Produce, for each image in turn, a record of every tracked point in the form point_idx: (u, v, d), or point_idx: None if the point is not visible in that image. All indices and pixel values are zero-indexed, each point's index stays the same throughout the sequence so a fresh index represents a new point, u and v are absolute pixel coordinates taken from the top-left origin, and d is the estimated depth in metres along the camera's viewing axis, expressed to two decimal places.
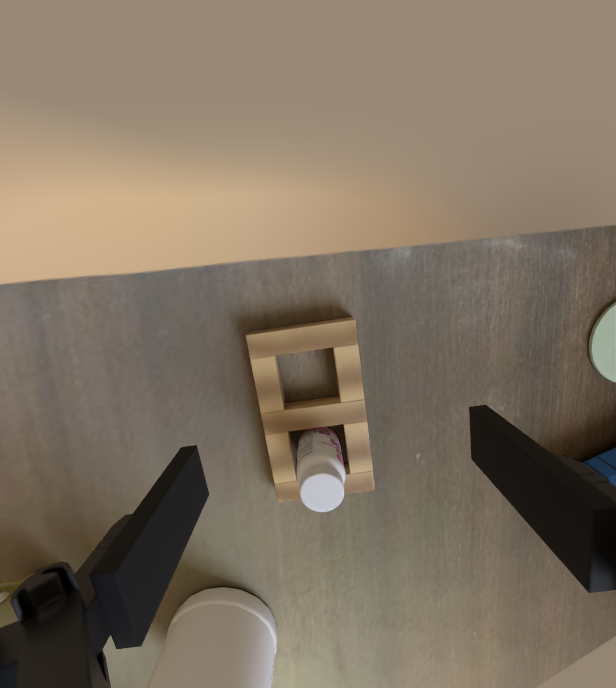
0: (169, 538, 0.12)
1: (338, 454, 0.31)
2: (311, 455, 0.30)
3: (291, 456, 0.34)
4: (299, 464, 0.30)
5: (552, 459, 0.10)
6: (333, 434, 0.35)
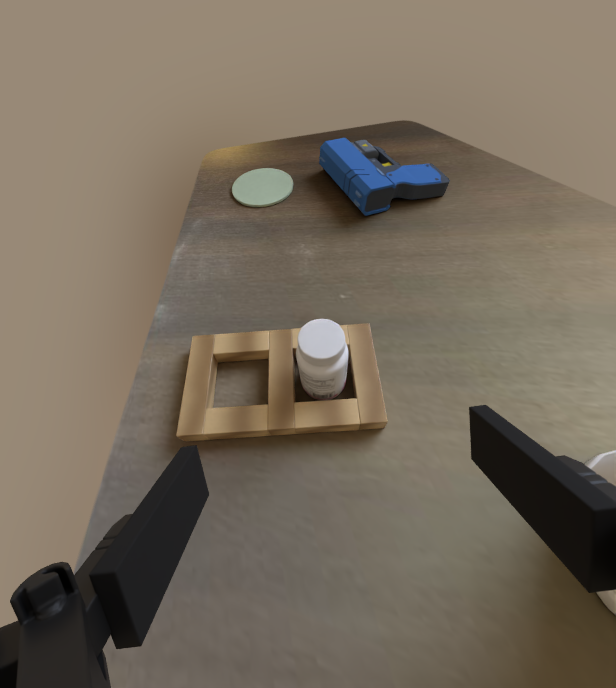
0: (169, 538, 0.12)
1: None
2: (297, 360, 0.28)
3: (325, 401, 0.30)
4: (307, 373, 0.28)
5: (552, 459, 0.10)
6: None
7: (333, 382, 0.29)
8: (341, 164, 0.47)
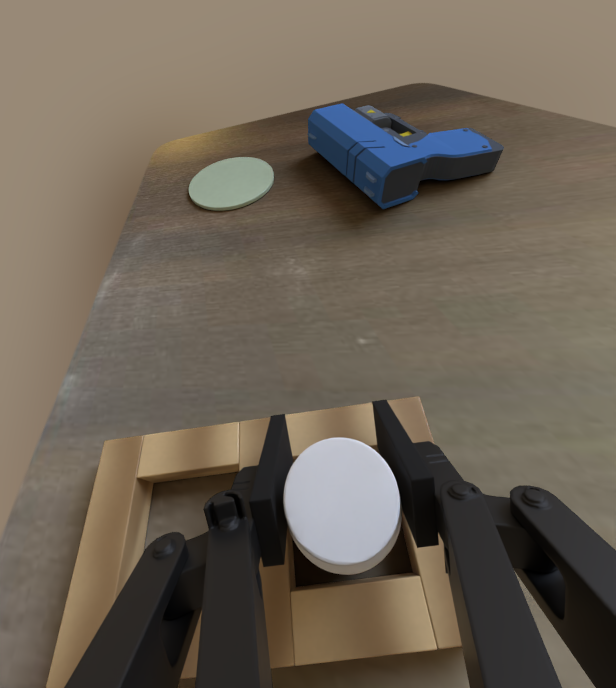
0: None
1: None
2: (288, 526, 0.13)
3: (354, 586, 0.15)
4: (313, 562, 0.12)
5: (408, 443, 0.12)
6: None
7: None
8: (340, 137, 0.32)
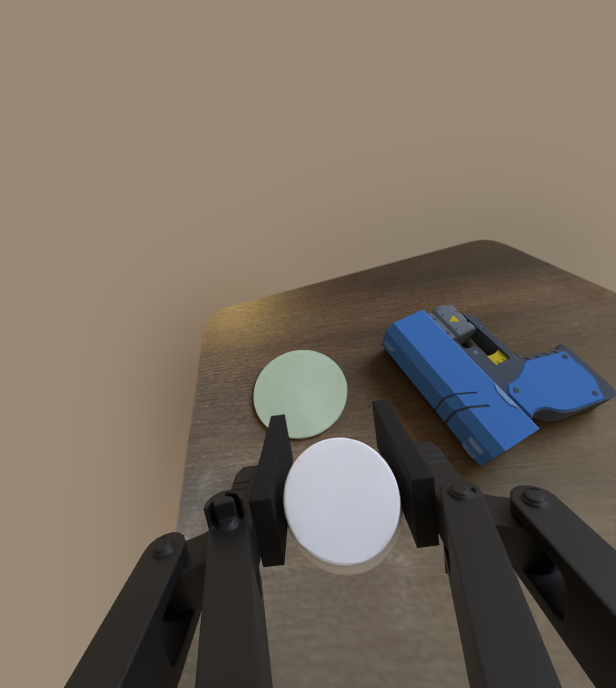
0: (284, 486, 0.13)
1: None
2: (288, 527, 0.13)
3: None
4: None
5: (408, 443, 0.12)
6: None
7: None
8: (431, 375, 0.29)
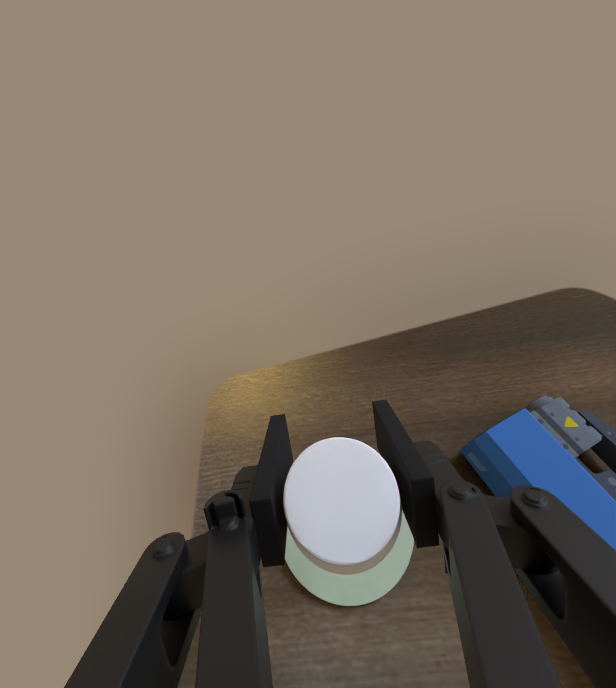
0: None
1: None
2: (288, 527, 0.13)
3: None
4: (313, 563, 0.12)
5: (408, 443, 0.12)
6: None
7: None
8: None
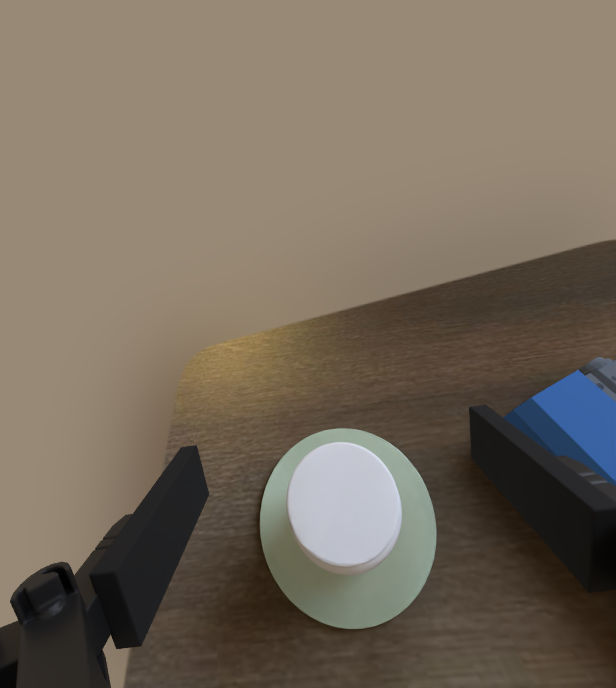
0: (169, 538, 0.12)
1: None
2: (291, 529, 0.13)
3: None
4: None
5: (552, 459, 0.10)
6: None
7: None
8: None
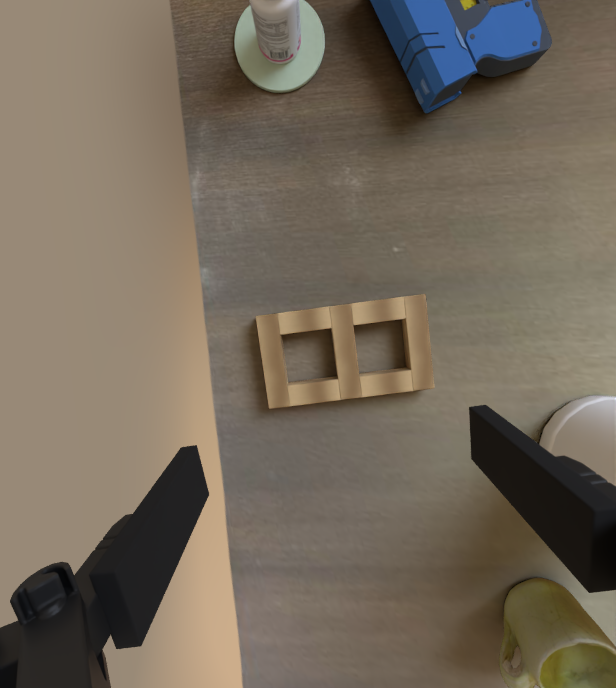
0: (169, 538, 0.12)
1: None
2: None
3: (385, 374, 0.37)
4: (260, 13, 0.29)
5: (552, 459, 0.10)
6: None
7: (286, 29, 0.31)
8: (404, 15, 0.31)
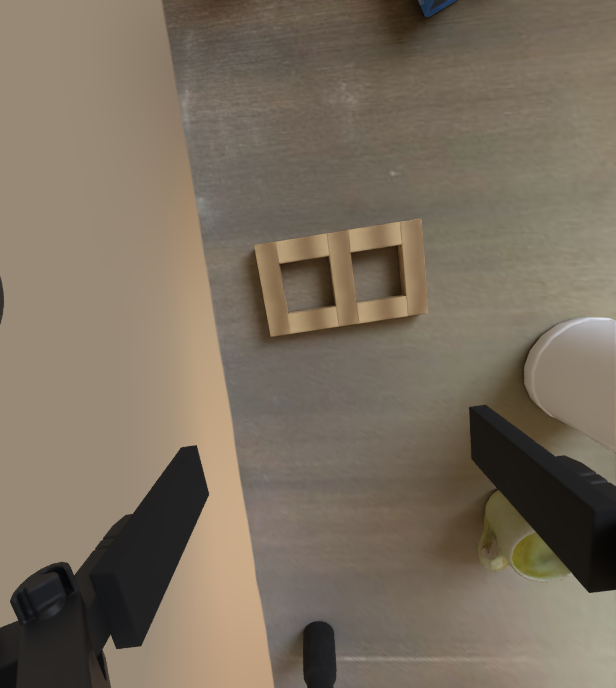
0: (169, 538, 0.12)
1: None
2: None
3: (381, 300, 0.38)
4: None
5: (552, 459, 0.10)
6: None
7: None
8: None
